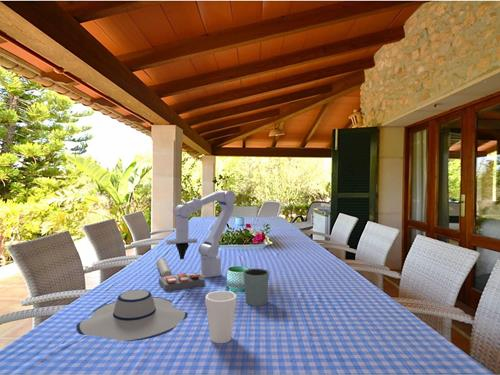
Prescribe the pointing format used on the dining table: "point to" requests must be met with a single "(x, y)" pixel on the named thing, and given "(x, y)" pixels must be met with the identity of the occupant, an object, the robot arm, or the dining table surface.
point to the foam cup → (220, 315)
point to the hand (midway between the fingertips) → (181, 258)
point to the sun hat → (133, 317)
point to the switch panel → (179, 285)
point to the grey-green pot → (256, 286)
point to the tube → (163, 267)
